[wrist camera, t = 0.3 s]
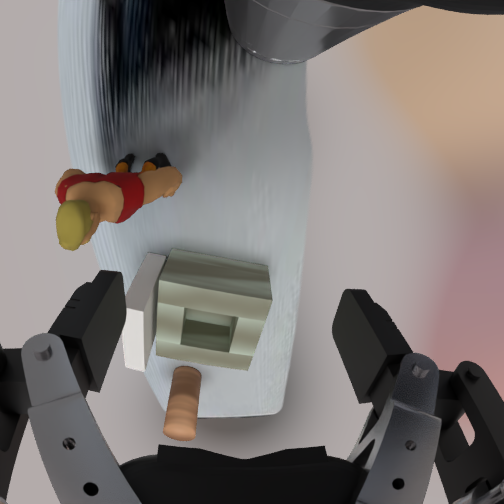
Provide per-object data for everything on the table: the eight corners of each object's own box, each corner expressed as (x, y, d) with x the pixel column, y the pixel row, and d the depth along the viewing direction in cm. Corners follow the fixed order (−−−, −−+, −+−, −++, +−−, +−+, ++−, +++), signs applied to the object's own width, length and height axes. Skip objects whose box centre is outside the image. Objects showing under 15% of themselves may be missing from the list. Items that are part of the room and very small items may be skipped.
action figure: (102, 185, 26) (10, 262, 13) (100, 149, 25) (-5, 205, 12) (195, 186, 27) (152, 275, 14) (196, 147, 25) (145, 204, 12)
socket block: (172, 247, 30) (159, 279, 25) (267, 265, 31) (272, 300, 26) (166, 319, 35) (155, 355, 30) (246, 333, 36) (247, 370, 31)
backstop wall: (148, 252, 30) (120, 306, 22) (166, 255, 30) (143, 311, 22) (146, 310, 34) (125, 367, 26) (161, 313, 34) (144, 371, 26)
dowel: (174, 363, 38) (163, 424, 30) (202, 368, 39) (196, 430, 30) (173, 380, 40) (163, 437, 32) (199, 384, 41) (194, 442, 32)
